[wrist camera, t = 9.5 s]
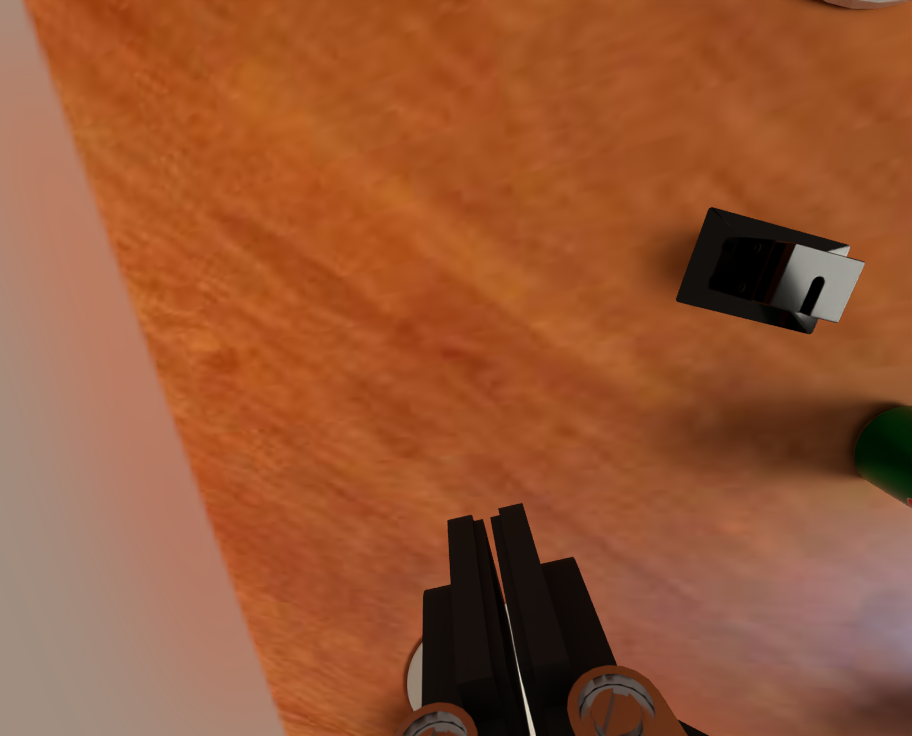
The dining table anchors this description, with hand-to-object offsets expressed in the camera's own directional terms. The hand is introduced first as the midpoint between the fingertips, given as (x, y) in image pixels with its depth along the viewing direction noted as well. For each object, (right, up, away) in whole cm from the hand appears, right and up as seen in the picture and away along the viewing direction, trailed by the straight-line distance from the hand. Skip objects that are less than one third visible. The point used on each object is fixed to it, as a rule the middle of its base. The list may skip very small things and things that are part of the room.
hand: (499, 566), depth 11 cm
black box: (+15, +9, +17) cm, 24 cm away
